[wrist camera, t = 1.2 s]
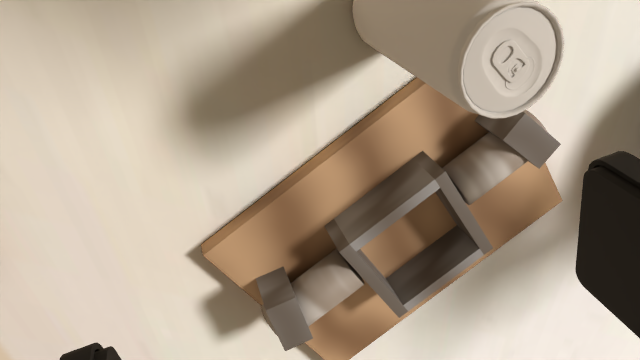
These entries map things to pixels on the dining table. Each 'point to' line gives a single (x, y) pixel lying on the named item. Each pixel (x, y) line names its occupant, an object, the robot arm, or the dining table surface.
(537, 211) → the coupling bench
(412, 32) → the beverage can
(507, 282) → the dining table surface
